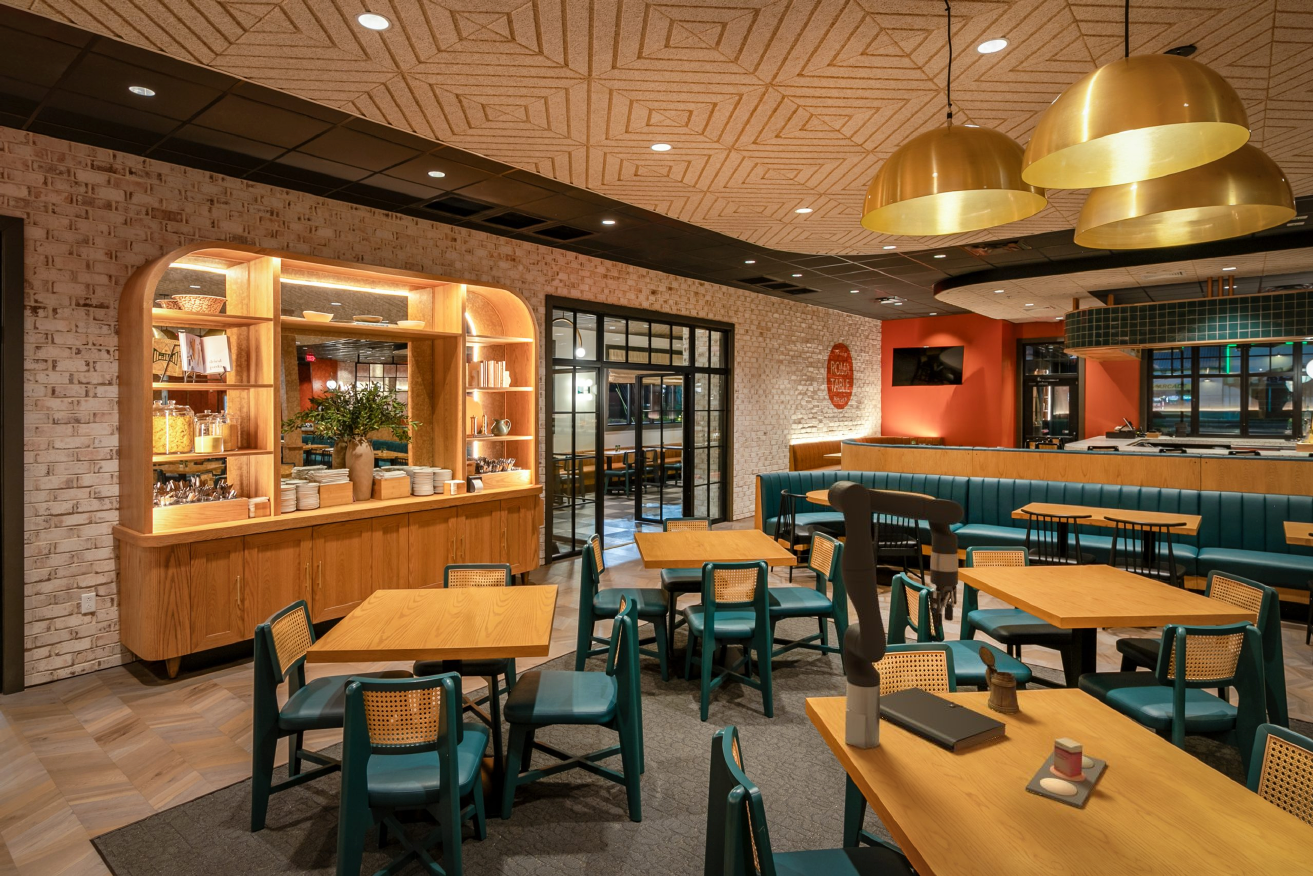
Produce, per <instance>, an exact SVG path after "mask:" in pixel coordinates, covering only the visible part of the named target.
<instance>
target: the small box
mask: <svg viewBox="0 0 1313 876" xmlns="http://www.w3.org/2000/svg"><path fill="white" fill-rule="evenodd" d="M1053 751H1054V769H1055V770H1057V771H1059V772H1061V773H1063V774H1065V775H1067V776H1069V777H1074V776H1078V775H1082V755H1083V744H1080V743H1079V742H1076V741H1075V740H1072V739H1071V738H1068V737H1066V736H1065V737H1060V738H1056V739H1054V749H1053Z"/></svg>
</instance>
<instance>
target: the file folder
mask: <svg viewBox="0 0 1313 876" xmlns="http://www.w3.org/2000/svg"><path fill="white" fill-rule="evenodd" d="M880 716H881V717H883V718H884V719H883V718H882V719H883V720H885V719H887V720H888V722H889V721H890V723H892V724H893V725H896V726H898V727H900V728H902V729H904V730H907V731H909V732H911V733H913V734H915V735H917V736H918V737H920V738H922V739H925V740H928V741H930V742H931V743H933V744H934V745H938V746H939V747H942V748H944V749H945V750H948V751H949V752H952V753H954V752H958V751H960V750H963V749H967V748H970V747H973V746H975V745H979V744H982V743H981V742H983V743H985V741H986V742H988V741H990V740H989V739H991V740H993V739H992V738H994V739H996V738H999V737H998V736H1000V737H1003V736H1005V735H1006V726H1007V724H1006V723H1004V722H1002V721H1000V720H998V719H994V718H992V717H990V716H988V715H986V714H983V713H980V712H978V711H975V710H973V709H971V708H967V707H965V706H964V705H961V704H958V703H956V702H954V701H951V700H948V699H946V698H943V697H941V696H939V695H936V694H934V693H931V692H928V691H926V690H924V689H922V688H919V687H916V686H915V687H911V688H905V689H902V690H901V689H900V690H897V691H894V692H891V693H886V694H883V695H880ZM881 717H880V718H881ZM887 720H886V721H887ZM995 737H996V738H995ZM987 740H988V741H987Z"/></svg>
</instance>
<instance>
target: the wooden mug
mask: <svg viewBox="0 0 1313 876" xmlns="http://www.w3.org/2000/svg"><path fill="white" fill-rule="evenodd" d="M978 655H979V658H980V660H981V662H982V663H983V664H984V666H986V669H985V672H984V673H985V675H984V676H985V681H986V683H987V686H988V689H989V691H990V692H989V693H990V694H989V698H988V699H987V706H988V708H989V709H991V710H992V709H993V711H994V710H995V712H997V711H999V712H998V713H1001V712H1002V713H1003V714H1007V713H1014V714H1018V713H1020V705H1019V702H1018V694H1017V687H1016V686H1017V681H1016V679H1015V675H1014V674H1013V673H1011V672H1008V671H998V669H997V667H996V665H995V664H996V657H995V655H994V653H993V651H991V649H989V647H987V646H984V644H983V645H981V644H980V647H979V650H978Z"/></svg>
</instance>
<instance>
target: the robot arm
mask: <svg viewBox="0 0 1313 876" xmlns="http://www.w3.org/2000/svg"><path fill="white" fill-rule="evenodd" d="M827 501H828V504H829V505H830V507H831V508H833V510H835V511H837V512H839V513H842V515H843V521H844V527H845V541H844V544H843V547H842V551H841V557H840V568H841V577H842V583H843V587H844V589H845V591H846V594H847V595H848V596H847V597H848V598H849V600H850V602H851V603H852V604H851V605H852V606H853V608H854V610H855V612H856V615H857V621H858V622H856V623H852V624H851V625H849V626H848V627H847V628H846V630H845V631H844V635H843V641H842V643H843V645H842V646H843V647H842V648H843V649H842V650H843V651H842V652H843V668H844V672H845V674H846V696H845V697H846V701H845V702H846V703H845V705H846V706H845V731H844V732H845V734H844V735H845V737H844V743H845V744H848V745H850V746H853V747H856V748H859V749H861V750H866V749H873V748H876V747H878V746H879V745H880V723H881V722H880V719H881V717H880V696H881V674H880V672H879V671H878V670H877V668H876V667H875V666H874V664H875V663H879V662H880V661H882V660H883V658H885V655H886V652H887V646H888V645H887V636H886V631H885V627H884V623H883V619H882V614H881V609H880V600H879V592H878V586H877V585H878V583H877V574H876V573H877V572H876V563H875V558H874V557H875V556H874V547H873V538H872V531H871V522H872V521H871V517H872V516H871V513H872V512H874V513H880V514H883V515H888V516H892V517H898V518H902V519H908V520H915V521H925V522H926V521H927V522H928V527H929V531H930V534H931V555H930V568H929V570H930V573H929V574H930V576H929V577H930V579H929V580H930V581H929V582H930V583H931V584H933V585H935V590H931V591H930V604H929V605H930V607H929V612H932V613H933V625H934V626H935V627H942V626H943V611H944V621H945V620H946V621H949V622H951V621H953V620H954V609H955V605H957V601H958V600H957V598H958V595H957V594H958V593H957V587H958V584H959V555H958V553H959V552H958V548H959V547H958V546H959V545H958V543H959V542H958V536H957V534H955V532H953V531H952V530H951V526H955V525H958V524H959V523H960V522H962V520H963V518H964V515H965V511H964V509H963V507H962V506H961V504H960V503H958V502H957V501H954V500H949V499H945V498H944V499H943V498H929V497H926V496H922V495H916V494H910V493H900V492H890V491H882V490H877V489H876V490H875V489H869V488H866V487H865V486H864V485H863V484H861V483H858V482H853V481H850V480H839V481H837V482H835V483H833V484H832V485H831V486H830V487H829V489H828V491H827Z"/></svg>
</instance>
